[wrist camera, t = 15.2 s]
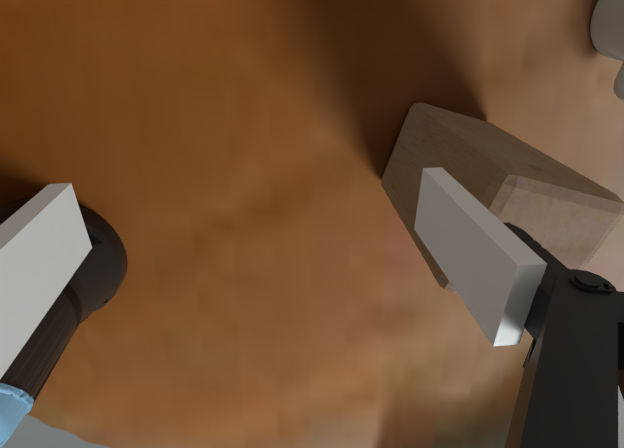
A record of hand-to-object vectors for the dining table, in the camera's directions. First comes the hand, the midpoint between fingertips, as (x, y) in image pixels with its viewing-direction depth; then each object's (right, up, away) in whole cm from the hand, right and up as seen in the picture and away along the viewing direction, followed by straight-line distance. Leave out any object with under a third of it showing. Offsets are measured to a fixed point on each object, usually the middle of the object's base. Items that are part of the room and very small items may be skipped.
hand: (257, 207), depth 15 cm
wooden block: (+16, +7, +29) cm, 34 cm away
